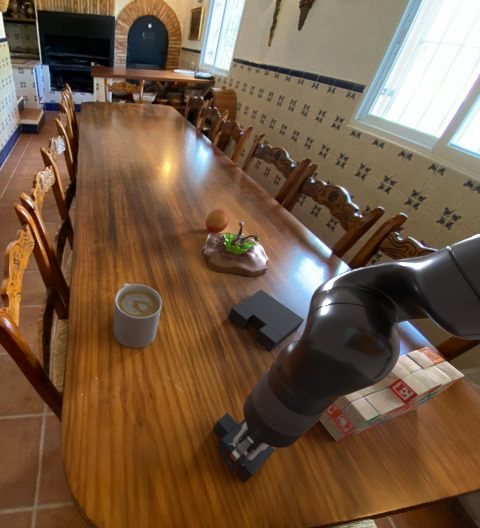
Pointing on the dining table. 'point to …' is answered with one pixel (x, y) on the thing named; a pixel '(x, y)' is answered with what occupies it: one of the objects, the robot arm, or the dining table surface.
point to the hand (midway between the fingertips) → (242, 451)
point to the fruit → (216, 221)
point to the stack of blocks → (391, 394)
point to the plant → (235, 253)
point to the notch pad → (266, 319)
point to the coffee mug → (136, 315)
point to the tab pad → (227, 432)
